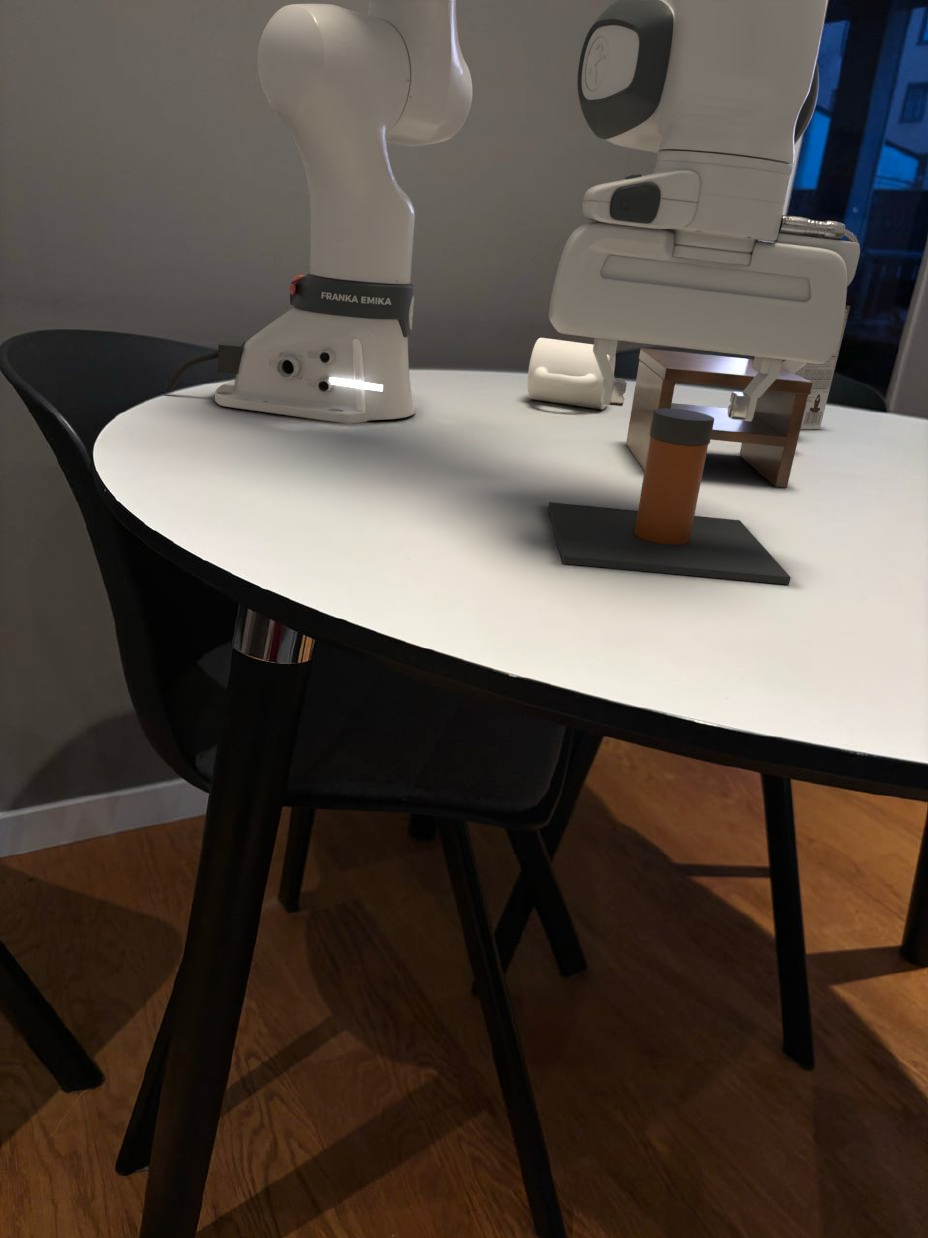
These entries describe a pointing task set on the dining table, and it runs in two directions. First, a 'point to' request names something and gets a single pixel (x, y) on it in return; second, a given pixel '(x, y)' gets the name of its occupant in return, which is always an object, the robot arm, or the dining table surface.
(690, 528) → the spice bottle
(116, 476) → the dining table surface
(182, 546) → the dining table surface
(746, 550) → the mat
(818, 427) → the coffee box
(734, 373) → the shelf
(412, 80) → the robot arm
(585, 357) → the mug
